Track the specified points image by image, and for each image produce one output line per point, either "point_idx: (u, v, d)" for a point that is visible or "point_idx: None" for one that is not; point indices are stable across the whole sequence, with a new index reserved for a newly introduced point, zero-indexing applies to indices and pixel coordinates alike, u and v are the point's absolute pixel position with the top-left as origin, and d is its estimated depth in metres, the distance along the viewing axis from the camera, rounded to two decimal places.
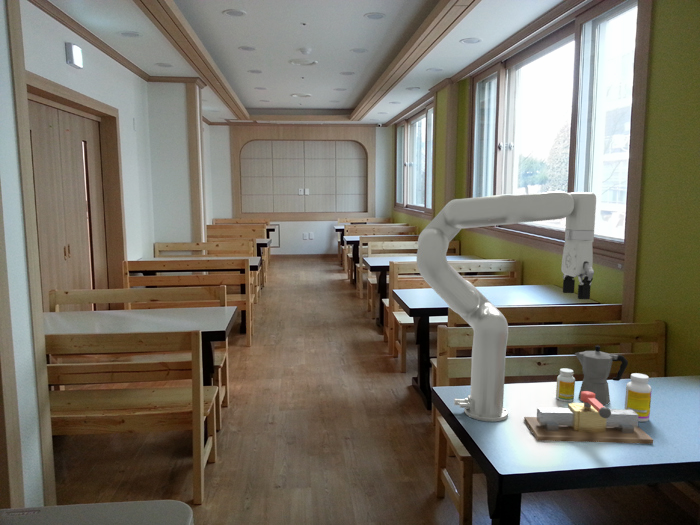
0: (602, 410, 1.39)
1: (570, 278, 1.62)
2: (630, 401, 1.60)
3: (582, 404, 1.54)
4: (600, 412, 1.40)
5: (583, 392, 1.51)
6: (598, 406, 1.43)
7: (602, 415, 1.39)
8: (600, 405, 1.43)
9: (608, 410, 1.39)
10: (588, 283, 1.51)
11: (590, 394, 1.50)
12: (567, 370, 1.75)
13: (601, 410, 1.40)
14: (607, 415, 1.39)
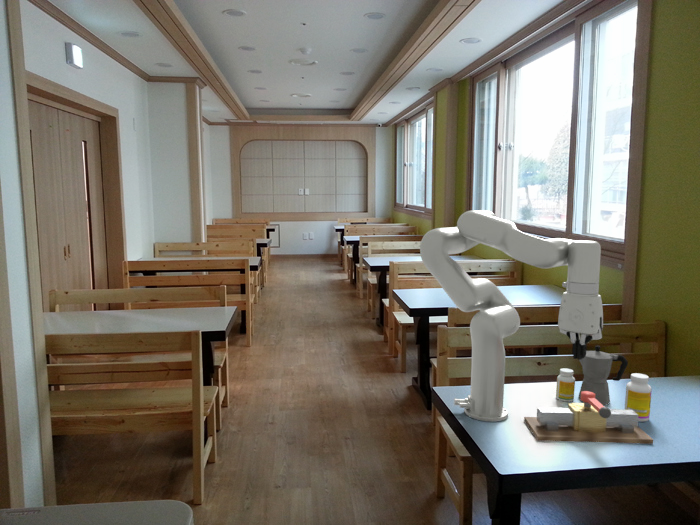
0: (602, 410, 1.39)
1: (579, 341, 1.44)
2: (630, 401, 1.60)
3: (582, 404, 1.54)
4: (600, 412, 1.40)
5: (583, 392, 1.51)
6: (598, 406, 1.43)
7: (602, 415, 1.39)
8: (600, 405, 1.43)
9: (608, 410, 1.39)
10: (588, 342, 1.42)
11: (590, 394, 1.50)
12: (567, 370, 1.75)
13: (601, 410, 1.40)
14: (607, 415, 1.39)
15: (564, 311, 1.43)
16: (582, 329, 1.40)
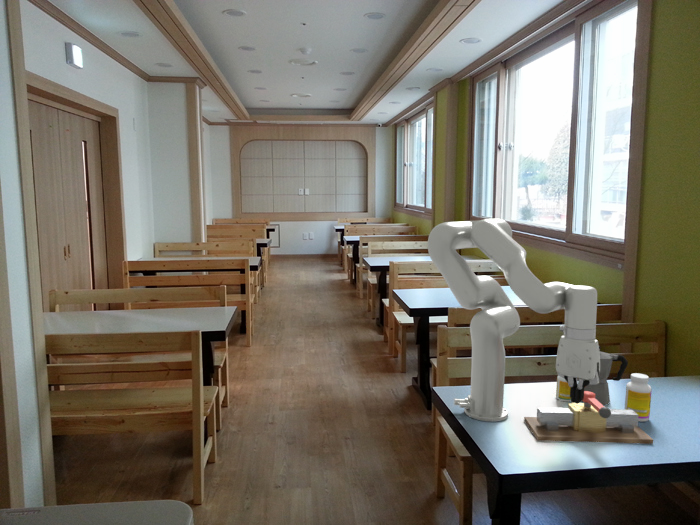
0: (602, 410, 1.39)
1: (576, 385, 1.45)
2: (630, 401, 1.60)
3: (582, 404, 1.54)
4: (600, 412, 1.40)
5: None
6: (598, 406, 1.43)
7: (602, 415, 1.39)
8: (600, 405, 1.43)
9: (608, 410, 1.39)
10: (585, 386, 1.43)
11: (590, 394, 1.50)
12: None
13: (601, 410, 1.40)
14: (607, 415, 1.39)
15: (562, 355, 1.44)
16: (579, 374, 1.41)
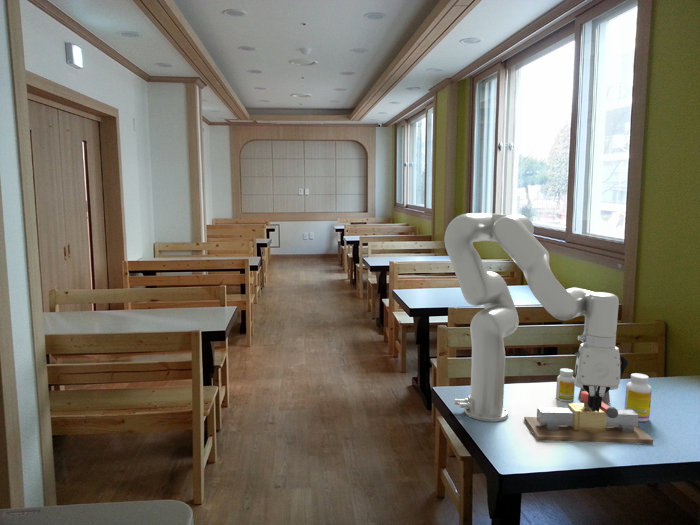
0: (610, 411, 1.39)
1: None
2: (630, 401, 1.60)
3: (582, 404, 1.54)
4: (608, 412, 1.40)
5: (583, 392, 1.51)
6: (603, 406, 1.43)
7: (610, 415, 1.39)
8: (605, 405, 1.44)
9: (616, 410, 1.39)
10: None
11: None
12: (567, 370, 1.75)
13: (609, 410, 1.39)
14: (615, 415, 1.39)
15: (587, 366, 1.40)
16: (607, 382, 1.40)
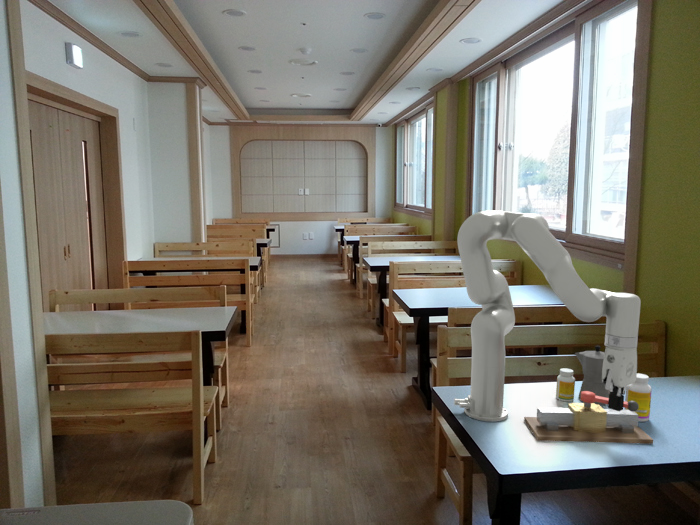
0: (635, 405, 1.43)
1: None
2: None
3: (582, 404, 1.54)
4: (633, 407, 1.43)
5: (584, 394, 1.50)
6: None
7: (635, 409, 1.43)
8: None
9: (636, 403, 1.44)
10: None
11: (591, 393, 1.51)
12: (567, 370, 1.75)
13: (633, 405, 1.43)
14: (638, 407, 1.44)
15: (623, 368, 1.39)
16: (632, 379, 1.43)
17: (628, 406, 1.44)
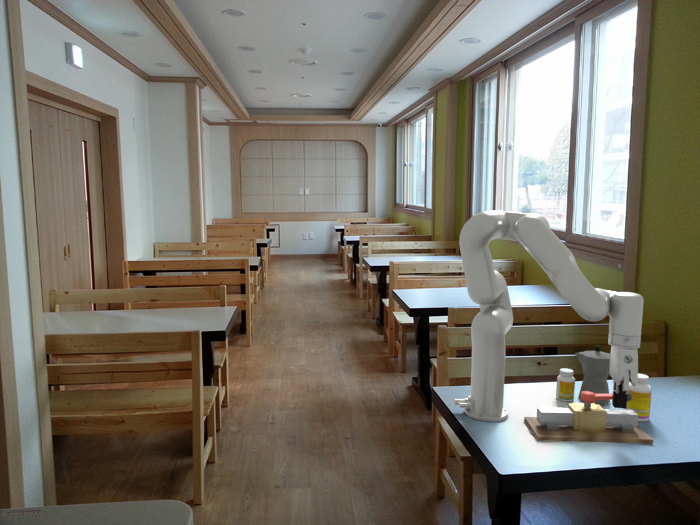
0: (631, 395, 1.51)
1: None
2: (630, 401, 1.60)
3: (582, 404, 1.54)
4: (630, 397, 1.50)
5: (588, 394, 1.50)
6: None
7: None
8: None
9: None
10: None
11: (590, 392, 1.51)
12: (567, 370, 1.75)
13: (630, 395, 1.51)
14: None
15: None
16: None
17: None
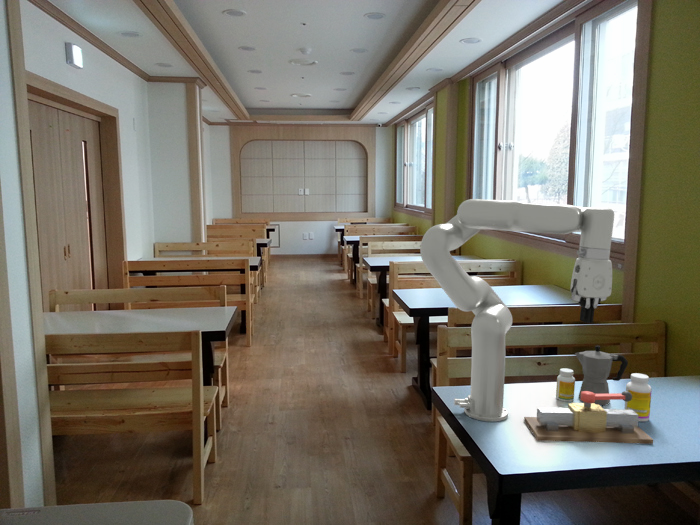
0: (631, 395, 1.51)
1: None
2: (630, 401, 1.60)
3: (582, 404, 1.54)
4: (630, 397, 1.50)
5: (588, 394, 1.50)
6: (617, 395, 1.51)
7: None
8: (613, 394, 1.52)
9: None
10: None
11: (590, 392, 1.51)
12: (567, 370, 1.75)
13: (630, 395, 1.51)
14: None
15: (588, 278, 1.43)
16: (602, 293, 1.45)
17: (626, 397, 1.51)
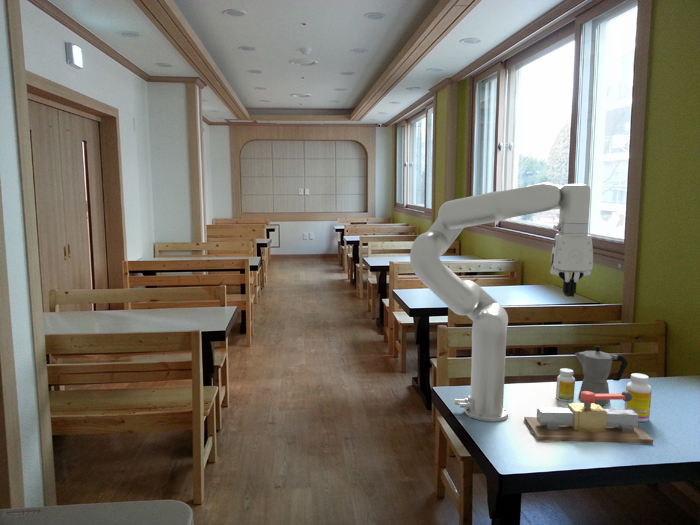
0: (631, 395, 1.51)
1: None
2: (630, 401, 1.60)
3: (582, 404, 1.54)
4: (630, 397, 1.50)
5: (588, 394, 1.50)
6: (617, 395, 1.51)
7: None
8: (613, 394, 1.52)
9: None
10: None
11: (590, 392, 1.51)
12: (567, 370, 1.75)
13: (630, 395, 1.51)
14: None
15: (563, 252, 1.49)
16: (581, 267, 1.49)
17: (626, 397, 1.51)
